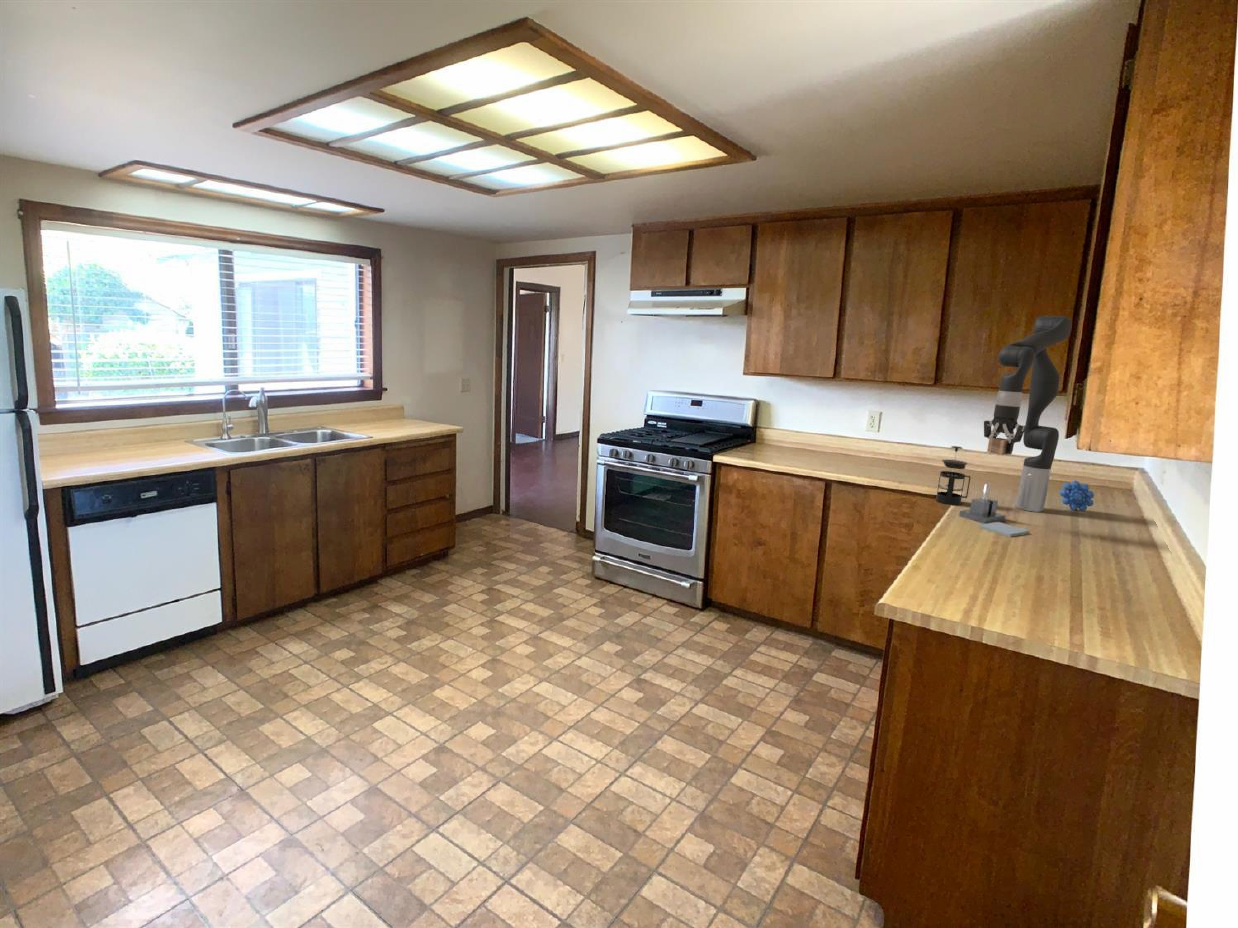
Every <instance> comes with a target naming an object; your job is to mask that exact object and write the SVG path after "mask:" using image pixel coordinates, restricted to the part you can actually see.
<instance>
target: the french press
mask: <svg viewBox="0 0 1238 928" xmlns="http://www.w3.org/2000/svg"><path fill="white" fill-rule="evenodd" d="M951 448H952V449H954V452H955V454H954V459H942V460H941V461H942V462H943V465H944V466H945V467H946V468H949V469H952V470H951V471H949V470H947V471H946V470H942V471H940V472H939V479H938V485H937V490H936V491H937V492H936V497H935V499H934V500H935V502H936V503H939V504H942V505H946V506H961V505H962V498H963V499H967V498H968V495H969V489H970V482H971V475H966V474H965V473H962V472H955V469H956V470H965V469H966V466H967V465H968V462H966V461H962V460H958V459H956V458H957V453H958V451H959V450H960V449H963V447H961V446H956V445H951ZM941 477H942V478H946V479H948V484H940V481H941ZM966 478H968V481H967V482H968V483H967V489H966V495H963V491H964V484H965V479H966ZM955 480H963V482H962V487H961V486H957V485H955ZM939 488H940V489H942V490H946V491H939ZM955 491H956V492H959V491H961V494H959V493H955Z"/></svg>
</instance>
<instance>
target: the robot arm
mask: <svg viewBox="0 0 1238 928" xmlns="http://www.w3.org/2000/svg"><path fill="white" fill-rule="evenodd" d="M1072 329H1073V327H1072V320H1071V318H1070V317H1068V316H1065V315H1062V316H1061V315H1043V316H1041V315H1040V316H1038V317H1037V318H1036V319H1035V321H1034V324H1033V329H1032V330H1033V331H1032V334H1029V335H1027V336H1026V337H1023V339H1021V340H1020V341H1017V342H1014V343H1010V344H1008V345H1006V346H1004V347H1003V348H1001V350H1000V351H999V353H998V357H997V358H998V359H997V360H998V363H999V364H1000V365H1001V366H1003V367H1006V368H1007V367H1008V368H1009V367H1010V368H1017V369H1016V371H1015V372H1010V373H1005V374H1003V375H1001V377H1000V381H999V387H998V393H997V395H996V399H995V405H994V411H993V419H992V420H984V421H983V437H984V438H987V440H989V438H998V437H999V435H1000V434H1002V433H1003V434H1004V436H1005V437H1006V439H1007V441H1008V443H1007V446H1006V451H1005V453H1007V454H1008V455H1011V454H1010V453H1011V452H1012V453H1013V451H1014V446H1015V445H1014V444H1015V443H1020V442H1021V440H1022V438H1023V445H1024V447H1026V448H1028V449H1034V450H1038V451H1041V452H1040V454H1039V455H1035V456H1030V457H1025V458H1024V460H1023V464H1022V465H1023V466H1022V470H1021V471H1022V472H1021V477H1020V481H1019V482H1020V483H1019V488H1018V492H1017V493H1018V494H1017V497H1016V498H1017V499H1016V502H1015V503H1016V504H1015V507H1016V508H1017V509H1019V510H1023V511H1029V512H1036V513H1040V512H1043V511H1044V510H1045V505H1046V499H1047V494H1048V489H1049V486H1048V485H1049V481H1050V476H1051V471H1052V466H1053V463H1054V459H1055V454H1056V450H1057V447H1058V444H1059V438H1060V433H1059V430H1058V428H1056V427H1051V426H1043V425H1040V423H1039V422H1040V420H1041V419H1040V418H1041V416H1042V414H1043V412H1044V411H1045V410H1046V408H1047V407H1048V406H1050V405H1051V403H1053V401H1054V400H1055V398H1056V397H1057V396H1058V394H1059V387H1060V373H1059V371H1058V369H1057V367H1056V366H1055V365H1054V363H1053V361H1052V360H1051V358H1050V356H1049V354H1048V351H1047V349H1048V348H1049V347H1051V346H1053V345H1056V344H1058V343H1062V342H1064V341H1066V340H1067V339H1068V338H1069V336H1070V335H1071V333H1072ZM1030 370H1031V374H1030V380H1029V382H1030V383H1029V392H1028V393H1029V394H1028V397H1029V398H1028V405H1027V406H1028V407H1027V415H1026V421H1025V425H1021V424H1019V423H1018V419H1019V416H1020V411H1021V405H1022V404H1021V403H1022V398H1023V389H1024V383H1025V380H1026V377H1027V375H1028V373H1029V371H1030ZM992 426H993V428H992ZM1014 430H1016V432H1015V431H1014Z"/></svg>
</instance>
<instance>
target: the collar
mask: <svg viewBox="0 0 1238 928" xmlns="http://www.w3.org/2000/svg"><path fill="white" fill-rule="evenodd" d="M1007 443H1008V441H1007V438H1004V437H1003V438H1002V437H996V438H989V439H988V443H987V449H986V452H987V453H991V454H997V455H1002V456H1003V455H1006V456H1007V455H1012V454H1013V451H1012V452H1011V453H1010V454H1007V453H1005V451H1006V446H1007Z"/></svg>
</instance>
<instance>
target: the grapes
mask: <svg viewBox="0 0 1238 928" xmlns="http://www.w3.org/2000/svg"><path fill="white" fill-rule="evenodd" d="M1062 488H1063V489H1060V490H1059V495H1060V496H1061V497H1062V499H1061V501H1062V502H1061V503H1062V504H1063V505H1066V506H1069V508H1070V510H1072V511H1077V510H1080V511H1081V512H1085V511H1087V509H1088V507H1092V506H1094V503H1095V502H1094V501H1093V499H1094V497H1095V493H1094V492H1093V491H1092V490H1089V489H1090V487H1089V485H1088V484H1087V483H1080V482H1079V481H1078V480H1073V481H1071V483H1069V482H1065V483H1063V485H1062Z"/></svg>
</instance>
